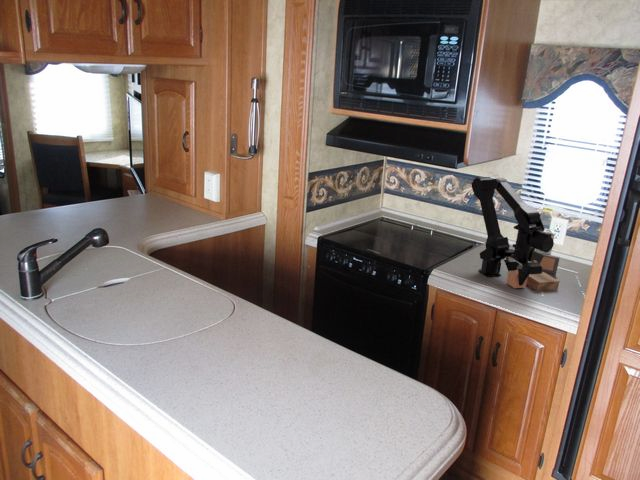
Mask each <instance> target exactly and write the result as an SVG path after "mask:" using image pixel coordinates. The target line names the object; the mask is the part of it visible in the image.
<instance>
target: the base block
mask: <svg viewBox="0 0 640 480" xmlns="http://www.w3.org/2000/svg"><path fill="white" fill-rule="evenodd" d="M559 285H560V280H558V279H557V278H553V277H551V276H550V275H548V274H546V273H545V272H542V274H530V275H529V276H528V278H527V283H526V286H528V287H529V288H531V289H532V290H534V291H535V292H537V293H538V292H551V291H558V289H559Z"/></svg>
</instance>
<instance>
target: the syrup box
mask: <svg viewBox="0 0 640 480" xmlns="http://www.w3.org/2000/svg"><path fill="white" fill-rule="evenodd" d="M544 229H545V230H544V231H543V232H546V233H550V234H552V235H551V237H552V238H553V242H554V239H555V234H556V233H555V232H554V230H553V229H549V228H545V227H544ZM535 251H537V252H539V253H541V254H544V255H549V256H552V251H553V248H552V249H551V250H550V251H549V252H547V253H545V252H543V251H540V250H538V249H535ZM536 262H537V261H535V260H533V263H536Z"/></svg>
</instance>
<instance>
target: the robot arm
mask: <svg viewBox="0 0 640 480" xmlns="http://www.w3.org/2000/svg"><path fill="white" fill-rule="evenodd" d="M471 189H472V192H473V195H474V196H475V197H476V198H477V199H478V201H479V203H480V207H481V212H482V217H483V220H484V221H483V222H484V225H485V229H486V234H487V238H486V240H485V249H484V250H482V251H480V252H479V259H481V260H482V261H481V262H482V263H481V268H480V269H478V271H479V272H480V273H481V274H483V275H484V276H485V277H500V276H502V274H501V273H500V272H501V268H502V267H501V266H502V263H501V262H502V261H503V262H504V263H505V266H506V269H507V272H508V271H511V270H517V266H518V265H519V264H521V265H523V266H522V269H518V278H519V285H520V286H522V285H523V283H524V282H525V280H526V279H527V277H528V276H529V275H530V274H542V271H543V268H542V266H540V265H539V264H537V263H534V260H535V261H538V262H539V263H541V261H542V259H543V257H544V255H543V254H541V253H539V252H537V251H535V249H538V250H540V251H543V252H545V253H547V252H549V251H550V250H551V249H552V250H553V248H554V245H555V242H554V241H553V238H552V237H551V235H552V234H550V233H546V232H543V231H544V230H545V229H546V228H545V226H544V224H543V222H542V219H541V217H542V215H541V213H540V212H539V211H538V210H537V209H536V208H535V207H534V206H532V205H530V204H528V203H526V202H525V201H524V200H523V199H522V198H521V197H520V195H519V194H518V193H517V192H516V190H515V189H513V187H512V186H511V185H510V184H509V183H508V180H507V179H506V178H504V177H502V178H501V177H499V178H498V177H497V178H491V176H490V177H489V176H484V177H483V176H482V177H475V178H474V179H473V180H472V182H471ZM495 191H496V192H497V193H498V194H499V196H501V198H502V199H503V200H504V201H505V202H506V204H507V205H508V206H509V207H510V209H511V210H512V211H513V215H514V216H513V217H514V218H515V220H516V222H517V224H516V225H514V226H513V229H514V230H517V234H516V239H515V243H513V244H512V247H513V248H514V249H513V248H511V246H510V243H509V238H508V236H504V235H503V234H502V233H501V229H500V224H499V220H498V215H497V211H496V205H495V202H494V195H495ZM544 228H545V229H544ZM528 262H529V263H528Z"/></svg>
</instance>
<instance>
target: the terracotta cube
mask: <svg viewBox="0 0 640 480" xmlns="http://www.w3.org/2000/svg"><path fill="white" fill-rule="evenodd" d="M527 278H528V277H527ZM526 283H527V279H526V280H525V282H524V283H523V285H522V286H520V285H519V278H518V270H511V271H508V270H507V277H506V284H507V285H509V286H510V287H511V288H513V289H520V288H522V289H523V288H526V287H527V285H526Z"/></svg>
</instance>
